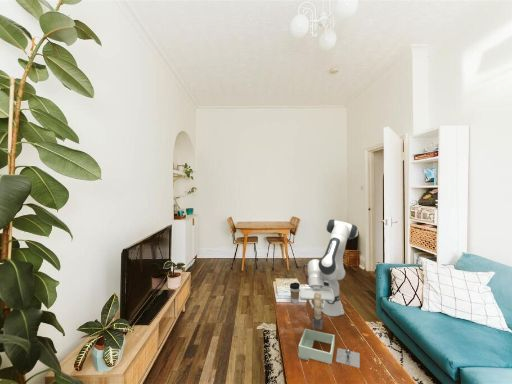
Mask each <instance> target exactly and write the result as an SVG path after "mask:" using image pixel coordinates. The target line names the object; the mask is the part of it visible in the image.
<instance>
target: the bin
mask: <svg viewBox="0 0 512 384" xmlns="http://www.w3.org/2000/svg"><path fill="white" fill-rule="evenodd" d="M335 337H336V335H335V334H331V333H328V332H327V333H326V332H322V331H318V330H314V329H310V328H309V329H308V328H304V330H303V333H302V335H301V338H300V341H299V343H298V359H301V360H304V361H305V360H306V361H309V360H310V359H311V360H313V361H318V362H322V363H326V364H329V365H332V362H333V357H334V350H335V341H336V339H335ZM315 341H316V342H320V343H326V344H328V345H330V351H329V352H328V351H324V350H320V349H317V348H313V347H314V342H315Z"/></svg>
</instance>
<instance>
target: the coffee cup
mask: <svg viewBox="0 0 512 384" xmlns="http://www.w3.org/2000/svg"><path fill="white" fill-rule="evenodd" d="M300 285H301V284H300V283H299V282H292V283H290V284H289V289H290V290H289V291H290V299H291V300H290V303H292V304H298V303H299V300H300V291H299V286H300Z"/></svg>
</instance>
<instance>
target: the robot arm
mask: <svg viewBox="0 0 512 384" xmlns="http://www.w3.org/2000/svg"><path fill="white" fill-rule="evenodd" d="M325 226H326V231H327V232H328V233H329V234H330V237H329V241H328V244H327V248H326V250H325V253H324V255H323V256H322V257H321V259H317V258H313V259H311V260H310V261H308V263H307V264H308V266H307V276H309V279H308V283H309V285H307V284H300V286H299V300H301V301H303V302H305V301H309V302H308V303H309V304H310V306H311V309H312V310H314V303H313V302H314V294H315V293H320V294H321V313H323V314H324V315H326V316H329V317H339V316H343V315H345V310H344V306H343V303H342V301H341V294H340V283H339V281H341V280H343V279H344V278H345V276H346V270H345V268H344V253H345V251H346V245H347V241H348V240H349V241H350V240H352V239H355V238H356V237H357V236H358V232H359V231H358V227H357V225H355V224H351V223H349V222H345V221H341V220H338V219H337V220H336V219H329V220H328V221H327V222H326V225H325ZM323 280H324V281H323Z"/></svg>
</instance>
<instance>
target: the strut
mask: <svg viewBox="0 0 512 384" xmlns="http://www.w3.org/2000/svg"><path fill="white" fill-rule="evenodd" d="M313 305H314V309H313V317H312V328H313V329H317V330H322V329H323V326H324V325H323V324H324V323H323V322H324V321H323V320H324V317H323V316H322V311H321V294H320V293H315V294H314V301H313Z"/></svg>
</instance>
